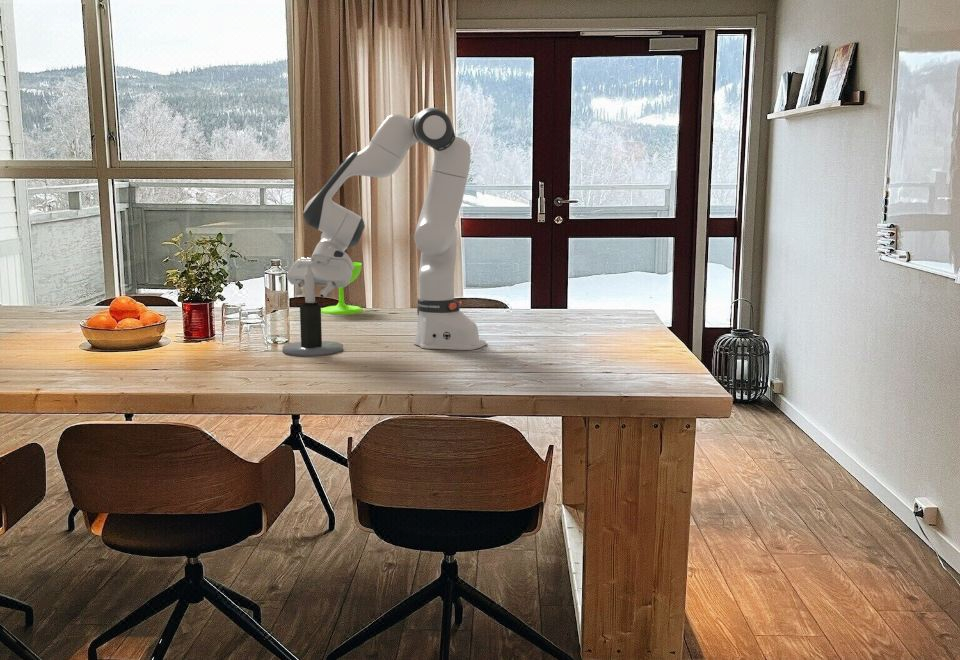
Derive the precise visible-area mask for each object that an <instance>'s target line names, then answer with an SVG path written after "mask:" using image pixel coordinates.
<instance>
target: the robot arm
mask: <svg viewBox="0 0 960 660" xmlns="http://www.w3.org/2000/svg"><path fill="white" fill-rule="evenodd" d="M416 143H419V144H423V145H425V146H428V147H431V148H432V149H433V154H434V155H433V156H434V157H433V158H434V159H433V164H432V168H431V172H430V177H429V182H428V185H427V186H428V187H427V191H426V195H425V200H424V201H423V203H422V207H421V211H420V214H419V217H418V221H417V225H416V228H415V231H414V237H413V239H414V244H415V246H416V248H417V249H418V251H420V259H419V261H420V262H419V268H418V269H419V270H418V298H417V306H416V310H417V326H416V327H417V328H416V332H415V337H414V338H415V339H414V340H413V344H414V345H416V346H418V347H420V348H421V349H428V350H429V349H431V350H452V351H455V350H458V351H470V350H477V349H479V348H482V347H484V346H486V344H487V341H486V339H483V338H482V339H481V338H480V335H479V334H480V333H479V328H478V326H477V324H476V322H475V321H473V320H471V318H469V317H468V316H467V315H466V314H464V313H463V312H462V311H461V310H460V309H461V306H462V300H460V301H459V300H457V299H456V298H455V267H456V266H455V265H456V255H457V240H458V237H457V236H458V231H457V228H456V221H457V218H458V216H459V213H460V209H461V206H462V205H463V199H464V194H465V191H466V185H467V182H468V176H469V172H470V165H471V145H470V144H469V142H468V141H466V139H463V138H462V137H460V136H456V134H455V130H454V127H453V123H452V120H451V118H450V117H449V115H448V114H447V112H445V111H443V110H442V109H440V108H437V107H427V108H424V109H421V111H420V110H419V111H418V112H417V113H415V114H414V115H413V116H411V117H407V116H405V115H403V114H400V113H393V114H389V115H388V116H387V117H385V119H384V120H383V121H382V123H381V124H380V125H379V127H378V128H377V129H376V131H375V133H374V134H373V136H372V138H371V139H370V141H369V143H367V145H366V147H364V148H363V149H361V150H360V151H353V152H351V153H350V154H349V155H348V156H347V157H346V158H345V159H344V160H343V161H342V162H341V163H340V165H339V166H338V167H337V169H335V171H334V172H333V173H332V175H330V177H329V178H328V180H327V181H326V182H325V183H324V184H323V186H322V187H321V188H320V190H319V191H318V192H317V193H316V194H315V195H314V196H312V197H311V198H310V199H309V200H308V202H306V205H305V207H304V209H303V213H302V217H303V219H304V222H305V224H306V225H307V227H310V228H312V229H315V230H316V231H319V232H321V235H320V241H319V242H317V244H316V246H315V247H314V249H313V252H312V254H311V256H310V257H300V258H299V259H296V260H295V261H294V262H293V263H292V264H291V266H290V267H289V268H290V269H289V270H288V271H287V273H286V279H287V280H288V282H289V283H290V284H291V285H295V287H296V288H295V291H294V294H295V295H296V296H302V295H303V293H304V291H303V289H302V288H303V286H305V279H304V275H305V273H306V272H307V268H308V264H310V267H311V270H312V272H313V274H314V280H315V287H317V286H318V287H324V288H322V289H320V291H319V296H320V297H321V298H326V297H327V296H328V294H329V293H331V291H332V290H334V288H339V287H344V288H347V287H348V285H349V284H350V283H349V282H350V280H351V277H352V270H353V269H354V265H353V261H352V259H351V257H350V255H348V253H347V252H345V251H346V250H347V249H350V248H353V247H355V246H356V245H357V244H359V241H360V239H361V237H362V234H363V232H364V230H365V228H366V225H365V222H364V218H363V217H362V216H360V215H359V214H357V213H355V212H354V211H352V210H350V209H347V208H346V207H344V206H342V205H341V204H338V203H337V202H335V201H334V200H333V197H334V196H335V194H336V192H338V190H340V188H341V186H343V184H344V183H345V182H346V180H348V179H349V178H351V177H353V176H363V177H371V178H376V179H377V178H379V179H380V178H387V177H390V176H392V175H393V174H394V173H396V171H397V170H398V168H400V166H401V165H402V162H403V160H404V158H405V157H406V155H407V153H408V151H409V150H410V148H411V147H412V146H413V145H415V144H416Z"/></svg>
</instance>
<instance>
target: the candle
mask: <svg viewBox="0 0 960 660" xmlns="http://www.w3.org/2000/svg"><path fill="white" fill-rule="evenodd" d="M304 279H305V285H304V301H302V303H300V304H299V317H300V318H299V319H300V327H299V328H300V342H301V347H305V348H315V347H321V346H322V341H323V339H322V338H323V337H322V336H323V335H322V313H321V309H322V305H321V303H319V301H317V300H316V292H315V291H316V288H315V287H316V286H315V280H314V274H313V272H312V270H311V267H310V264H308V268H307V272H306V273H305V275H304Z"/></svg>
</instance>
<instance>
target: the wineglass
mask: <svg viewBox="0 0 960 660" xmlns="http://www.w3.org/2000/svg"><path fill="white" fill-rule="evenodd" d="M352 262H353V261H352ZM353 265H354V269H353V270H352V277H351V280H350V282H349V284H352V283H353V282H354V281H355V280H356V279H358V277H359V276H360V274H361V271H362V265H363V264H362V262H357V261H354V262H353ZM344 288H345V287H338V303H337V304H336V305H329V306H326V307H323V308H321V314H325V315H326V314H327V315H337V314H338V315H339V316H340V315H341V314H342V315H354V314H360V313H362V312H363V311H364V309H363V308H362V307H361V306H357V305H349V304H348V305H347V304H346V302H345V293H344V291H345V290H344Z"/></svg>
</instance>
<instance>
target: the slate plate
mask: <svg viewBox="0 0 960 660" xmlns="http://www.w3.org/2000/svg"><path fill="white" fill-rule="evenodd" d="M281 348H282V349H281V352H282V353H283V354H285V355H288V356H292V355H293V357H325V356H331V355H335V354H339V353H342V352H343V351H344V345H343V343H341V342H337V341H331V340H328V341H327V340H322V346H321V347H315V348H305V347H301V341H295V342H290V343H288V344H285V345H283V346H282V347H281Z"/></svg>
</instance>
